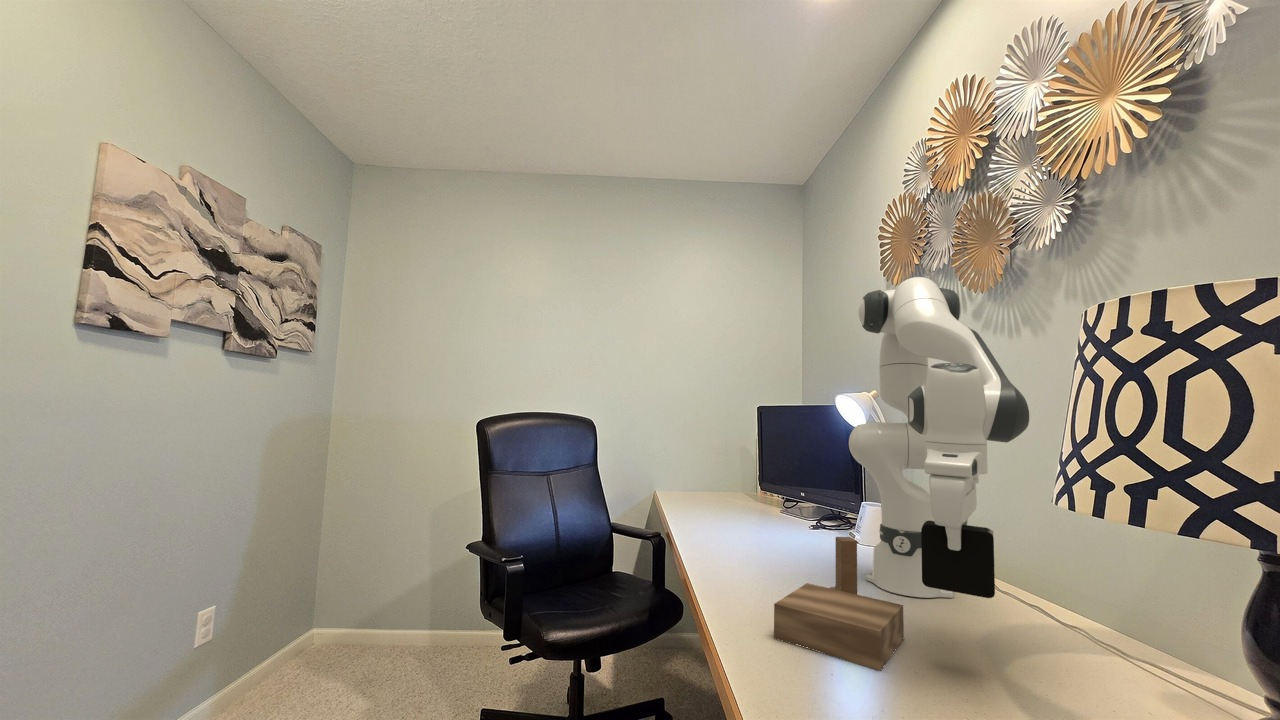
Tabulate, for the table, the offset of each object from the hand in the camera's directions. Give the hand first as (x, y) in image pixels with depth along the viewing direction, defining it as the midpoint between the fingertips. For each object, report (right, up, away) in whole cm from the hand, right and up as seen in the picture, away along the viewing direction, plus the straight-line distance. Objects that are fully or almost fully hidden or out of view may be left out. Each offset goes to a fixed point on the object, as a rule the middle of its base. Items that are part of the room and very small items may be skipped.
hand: (957, 546), depth 87 cm
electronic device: (0, -7, 0) cm, 7 cm away
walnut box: (-16, -20, +10) cm, 27 cm away
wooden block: (-10, -22, +24) cm, 34 cm away
